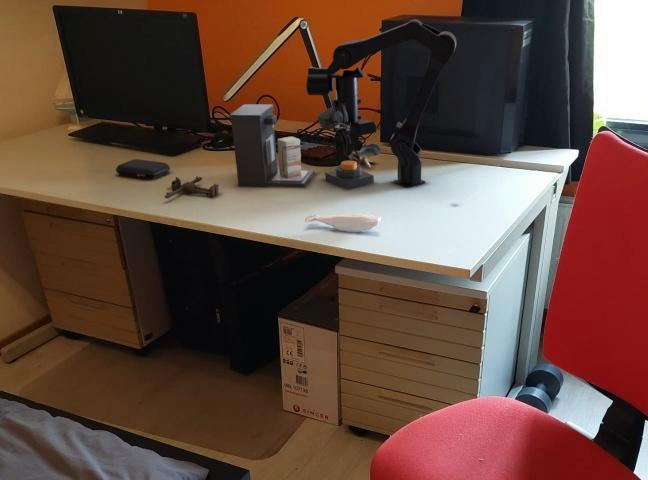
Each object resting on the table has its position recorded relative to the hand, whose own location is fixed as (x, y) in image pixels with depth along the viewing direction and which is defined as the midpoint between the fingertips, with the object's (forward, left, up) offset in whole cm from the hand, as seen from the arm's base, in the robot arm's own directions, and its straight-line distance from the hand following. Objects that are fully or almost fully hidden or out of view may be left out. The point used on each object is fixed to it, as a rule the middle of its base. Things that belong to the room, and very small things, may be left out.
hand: (348, 155), depth 197 cm
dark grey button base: (0, 0, -7) cm, 7 cm away
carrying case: (+46, +43, -8) cm, 63 cm away
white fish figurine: (-30, +23, -8) cm, 38 cm away
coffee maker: (+15, +15, -7) cm, 22 cm away
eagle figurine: (+9, -12, -8) cm, 17 cm away
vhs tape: (+33, -8, -8) cm, 35 cm away
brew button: (0, 0, -4) cm, 4 cm away
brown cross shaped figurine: (+19, +39, -8) cm, 44 cm away
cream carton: (+12, +12, -6) cm, 18 cm away
